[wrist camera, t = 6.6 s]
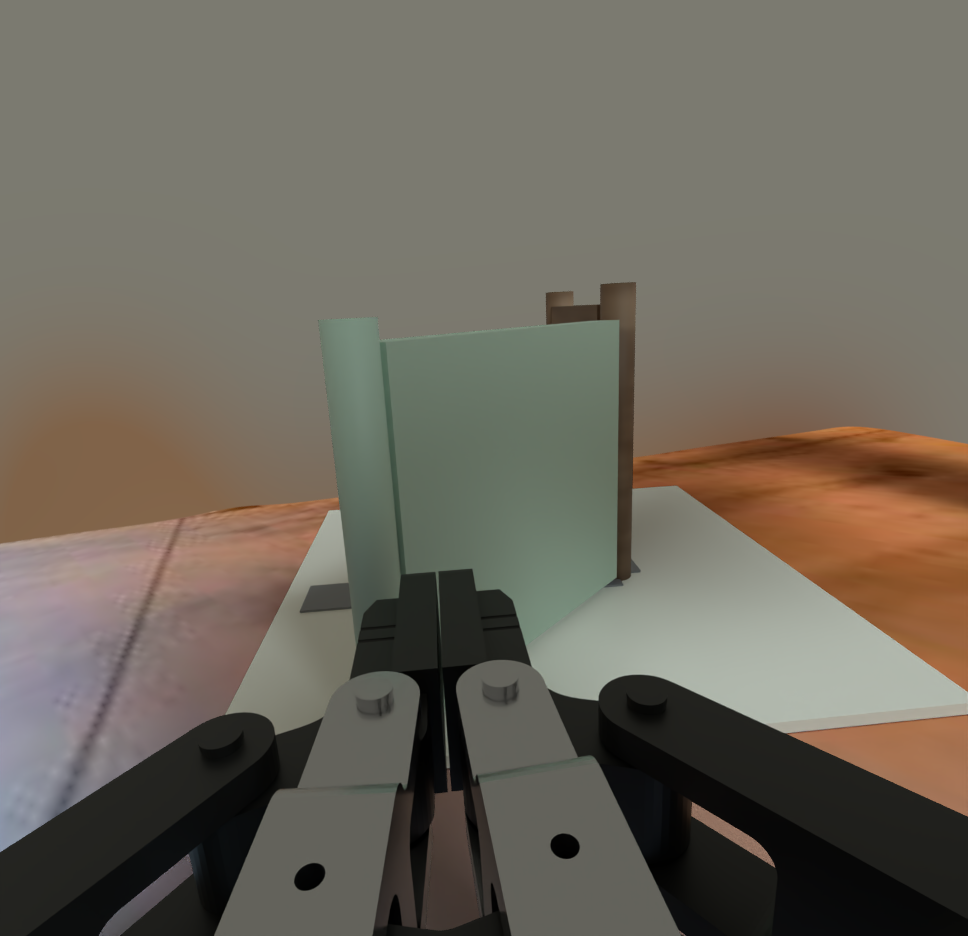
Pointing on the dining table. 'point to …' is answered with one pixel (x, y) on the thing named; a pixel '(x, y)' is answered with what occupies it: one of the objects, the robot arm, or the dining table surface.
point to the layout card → (643, 634)
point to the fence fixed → (619, 306)
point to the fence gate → (477, 460)
